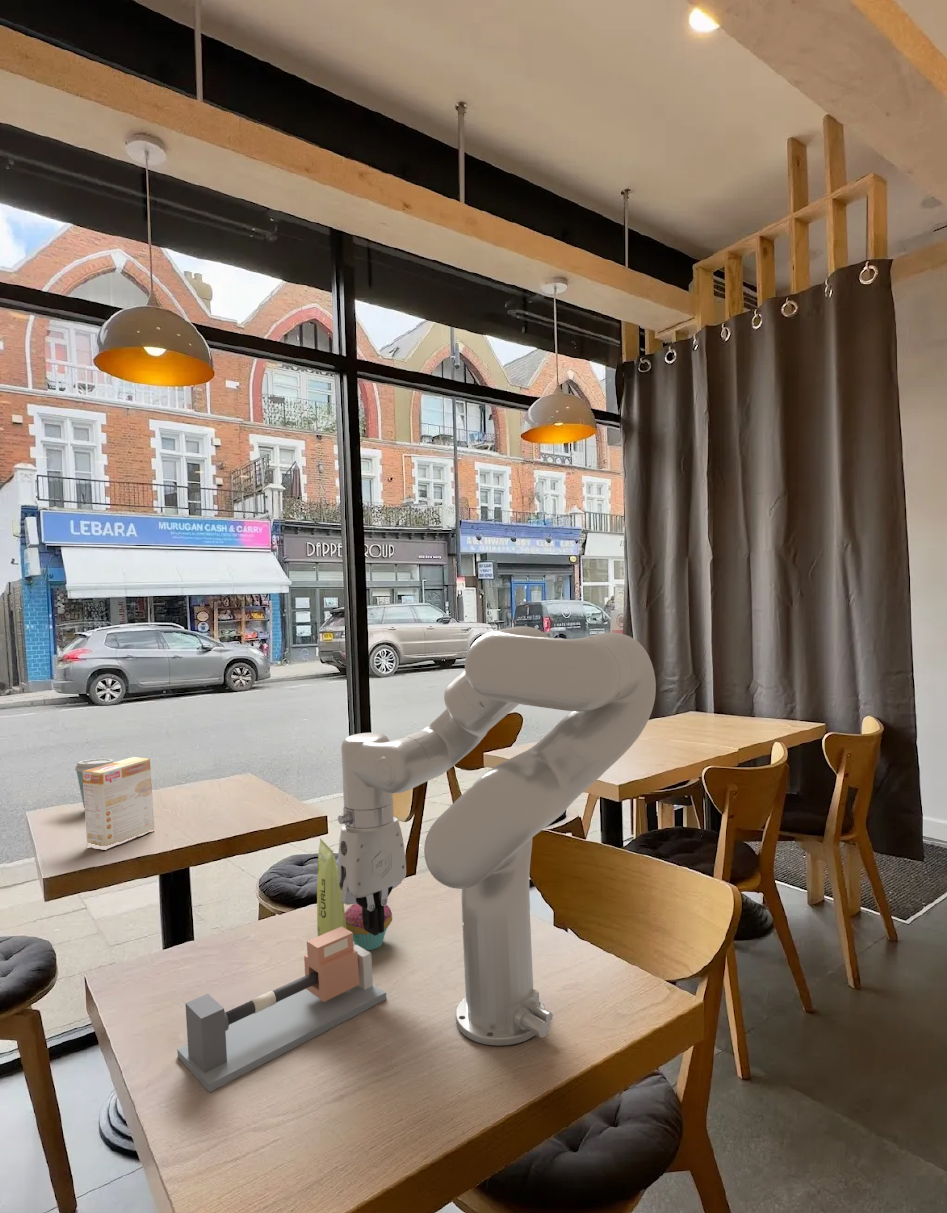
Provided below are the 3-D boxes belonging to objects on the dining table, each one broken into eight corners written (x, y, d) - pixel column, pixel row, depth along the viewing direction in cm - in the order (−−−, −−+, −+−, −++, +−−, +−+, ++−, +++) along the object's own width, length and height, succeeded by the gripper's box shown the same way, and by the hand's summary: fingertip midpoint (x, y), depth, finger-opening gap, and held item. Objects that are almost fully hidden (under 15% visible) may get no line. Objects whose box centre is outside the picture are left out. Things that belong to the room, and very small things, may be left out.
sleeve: (340, 972, 111) (338, 924, 111) (359, 984, 107) (356, 935, 107) (305, 989, 107) (303, 939, 107) (324, 1002, 103) (321, 950, 103)
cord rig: (348, 975, 115) (346, 925, 115) (386, 999, 108) (383, 946, 107) (177, 1056, 96) (174, 997, 96) (209, 1092, 89) (205, 1029, 89)
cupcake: (384, 958, 120) (380, 886, 119) (335, 955, 121) (332, 884, 121) (399, 933, 128) (396, 866, 128) (354, 930, 130) (350, 864, 129)
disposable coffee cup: (93, 805, 218) (90, 755, 217) (126, 804, 216) (123, 755, 216) (69, 816, 207) (66, 764, 207) (104, 816, 206) (100, 764, 205)
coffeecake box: (137, 828, 193) (132, 756, 193) (155, 831, 190) (151, 758, 190) (85, 848, 180) (80, 770, 179) (105, 851, 177) (100, 772, 176)
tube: (309, 964, 119) (302, 847, 118) (326, 949, 123) (320, 836, 123) (338, 970, 117) (332, 850, 116) (355, 954, 121) (349, 839, 121)
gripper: (341, 833, 104) (346, 958, 105) (421, 807, 114) (426, 922, 115) (313, 821, 110) (319, 941, 110) (393, 798, 120) (397, 907, 120)
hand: (374, 931), depth 113 cm, fingers closed
